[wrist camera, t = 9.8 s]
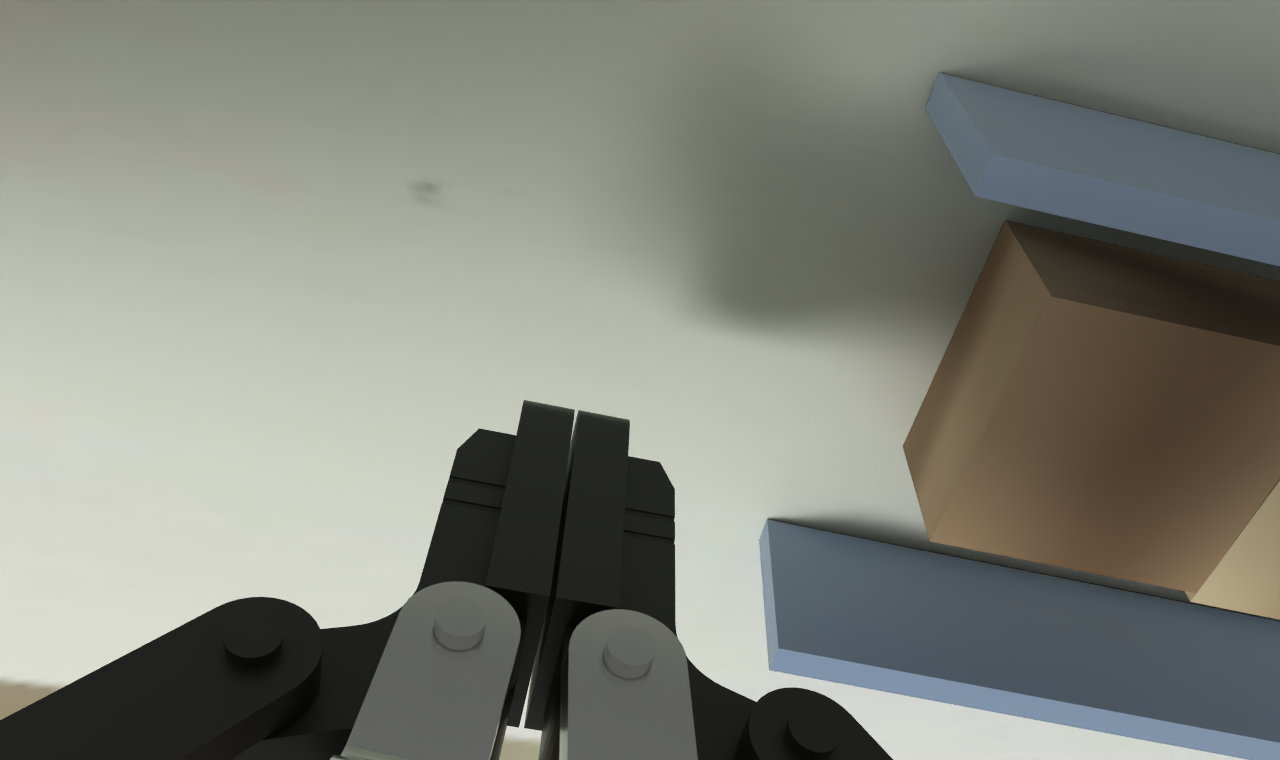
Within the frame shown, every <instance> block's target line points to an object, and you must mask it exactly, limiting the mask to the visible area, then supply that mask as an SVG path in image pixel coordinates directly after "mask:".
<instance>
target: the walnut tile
mask: <svg viewBox="0 0 1280 760" xmlns="http://www.w3.org/2000/svg"><path fill="white" fill-rule="evenodd" d="M903 449H904V452H905V456H906V459H907V463H908V466H909V470H910V473H911V477H912V480H913V484H914V487H915V491H916V494H917V498H918V501H919V505H920V508H921V512H922V515H923V519H924V522H925V526H926V529H927V533H928V536H929V540H930V542H935V543H940V544H945V545H951V546H956V547H961V548H966V549H971V550H976V551H981V552H986V553H991V554H997V555H1002V556H1007V557H1012V558H1017V559H1022V560H1027V561H1032V562H1037V563H1043V564H1048V565H1053V566H1058V567H1063V568H1068V569H1073V570H1078V571H1083V572H1089V573H1094V574H1099V575H1104V576H1109V577H1114V578H1119V579H1124V580H1129V581H1135V582H1140V583H1145V584H1150V585H1155V586H1160V587H1165V588H1170V589H1175V590H1180V591H1186V592H1191V593H1196V594H1197V592H1198V591H1199V589H1200V588H1201V587H1202V585H1203V584H1204V582H1205V581H1206V580H1207V578H1208V577H1209V575H1210V574H1211V573H1212V571H1213V570H1214V569H1215V567H1216V566H1217V564H1218V563H1219V562H1220V560H1221V559H1222V557H1223V556H1224V555H1225V553H1226V552H1227V551H1228V549H1229V548H1230V546H1231V545H1232V544H1233V542H1234V541H1235V539H1236V538H1237V537H1238V535H1239V534H1240V533H1241V531H1242V530H1243V528H1244V527H1245V526H1246V524H1247V523H1248V521H1249V520H1250V519H1251V517H1252V516H1253V515H1254V513H1255V512H1256V510H1257V509H1258V508H1259V506H1260V505H1261V503H1262V502H1263V501H1264V499H1265V498H1266V496H1267V495H1268V494H1269V492H1270V491H1271V490H1272V488H1273V487H1274V485H1275V484H1276V483H1277V481H1278V480H1279V478H1280V284H1279V283H1278V282H1277V281H1276V280H1272V279H1267V278H1263V277H1258V276H1254V275H1249V274H1245V273H1240V272H1236V271H1231V270H1227V269H1222V268H1218V267H1213V266H1209V265H1204V264H1200V263H1195V262H1191V261H1186V260H1182V259H1177V258H1173V257H1168V256H1164V255H1159V254H1155V253H1150V252H1146V251H1141V250H1137V249H1132V248H1128V247H1123V246H1119V245H1114V244H1110V243H1105V242H1101V241H1096V240H1092V239H1087V238H1083V237H1078V236H1074V235H1069V234H1065V233H1060V232H1056V231H1051V230H1047V229H1042V228H1038V227H1033V226H1029V225H1024V224H1020V223H1015V222H1011V221H1006V220H1005V221H1004V224H1003V226H1002V228H1001V230H1000V232H999V235H998V237H997V239H996V241H995V243H994V246H993V248H992V250H991V252H990V255H989V257H988V259H987V261H986V263H985V266H984V268H983V270H982V272H981V274H980V277H979V279H978V281H977V283H976V285H975V288H974V290H973V292H972V294H971V297H970V299H969V301H968V303H967V305H966V308H965V310H964V312H963V314H962V316H961V319H960V321H959V323H958V325H957V328H956V330H955V332H954V334H953V336H952V339H951V341H950V343H949V345H948V347H947V350H946V352H945V354H944V356H943V359H942V361H941V363H940V365H939V367H938V370H937V372H936V374H935V376H934V378H933V381H932V383H931V385H930V387H929V389H928V392H927V394H926V396H925V398H924V401H923V403H922V405H921V407H920V409H919V412H918V414H917V416H916V418H915V420H914V423H913V425H912V427H911V429H910V432H909V434H908V436H907V438H906V440H905V443H904V445H903Z"/></svg>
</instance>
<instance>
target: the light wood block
mask: <svg viewBox="0 0 1280 760" xmlns="http://www.w3.org/2000/svg"><path fill="white" fill-rule="evenodd" d="M1185 593H1186V595H1187V596H1188V598H1189V600H1190V602H1194V603H1199V604H1204V605H1209V606H1214V607H1219V608H1224V609H1229V610H1234V611H1239V612H1244V613H1249V614H1254V615H1259V616H1264V617H1269V618H1274V619H1279V620H1280V478H1279V480H1278V481H1277V483H1276V484H1275V485H1274V487H1273V488H1272V490H1271V491H1270V492H1269V494H1268V495H1267V496H1266V498H1265V499H1264V501H1263V502H1262V503H1261V505H1260V506H1259V508H1258V509H1257V510H1256V512H1255V513H1254V515H1253V516H1252V517H1251V519H1250V520H1249V521H1248V523H1247V524H1246V526H1245V527H1244V528H1243V530H1242V531H1241V533H1240V534H1239V535H1238V537H1237V538H1236V539H1235V541H1234V542H1233V544H1232V545H1231V546H1230V548H1229V549H1228V551H1227V552H1226V553H1225V555H1224V556H1223V557H1222V559H1221V560H1220V562H1219V563H1218V564H1217V566H1216V567H1215V569H1214V570H1213V571H1212V573H1211V574H1210V575H1209V577H1208V578H1207V580H1206V581H1205V582H1204V584H1203V585H1202V587H1201V588H1200V589H1199V591H1198V592H1197V594H1196V593H1191V592H1186V591H1185Z"/></svg>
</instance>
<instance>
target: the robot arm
mask: <svg viewBox="0 0 1280 760" xmlns="http://www.w3.org/2000/svg"><path fill="white" fill-rule="evenodd" d="M574 412H575V410H573V409H568V408H563V407H558V406H552V405H547V404H542V403H537V402H531V401H526V400H524V402H523V407H522V412H521V417H520V421H519V426H518V431H517V436H516V435H511V434H505V433H500V432H495V431H489V430H484V429H478V430H477V431H476V432H475V433H474V434H473V435H472V436H471V437H470V438H469V439H468V440H467V441H466V442H465V443H463V444H462V445H461V446H460V447H459V448H458V449H457V452H456V456H455V459H454V463H453V466H452V470H451V473H450V478H449V481H448V484H447V488H446V491H445V495H444V499H443V503H442V505H441V509H440V512H439V516H438V519H437V523H436V526H435V530H434V533H433V537H432V540H431V544H430V547H429V551H428V555H427V558H426V562H425V565H424V569H423V572H422V576H421V579H420V582H419V585H418V587H417V590H416V591H415V593H414V594H413V596H412V597H411V598H409V599H408V601H407V602H406V603H405V604H404V605H403V606H402V607H401V608H400V609H399V610H397V611H396V612H394V613H392V614H391V615H389V616H387V617H385V618H382V619H380V620H378V621H374V622H371V623H367V624H363V625H356V626H348V627H338V628H328V629H320V628H319V626H318V624H317V622H316V621H315V620H314V619H313V617H312V616H311V615H310V614H309V613H307V612H306V611H305V610H304V609H302V608H301V607H299V606H297V605H295V604H293V603H290V602H288V601H285V600H281V599H276V598H268V597H250V598H244V599H238V600H235V601H231V602H228V603H225V604H223V605H221V606H219V607H216V608H214V609H212V610H210V611H209V612H207V613H205V614H203V615H201V616H199V617H197V618H195V619H193V620H191V621H189V622H188V623H186V624H184V625H182V626H180V627H178V628H176V629H174V630H172V631H170V632H168V633H166V634H165V635H163V636H161V637H159V638H157V639H155V640H153V641H151V642H149V643H147V644H145V645H144V646H142V647H140V648H138V649H136V650H134V651H132V652H130V653H128V654H126V655H124V656H122V657H121V658H119V659H117V660H115V661H113V662H111V663H109V664H107V665H105V666H103V667H101V668H100V669H98V670H96V671H94V672H92V673H90V674H88V675H86V676H84V677H82V678H80V679H78V680H77V681H75V682H73V683H71V684H69V685H67V686H65V687H63V688H61V689H59V690H57V691H56V692H54V693H52V694H50V695H48V696H46V697H44V698H42V699H41V700H38V701H36V702H35V703H33V704H31V705H29V706H27V707H25V708H23V709H21V710H20V711H17V712H15V713H14V714H12V715H10V716H8V717H6V718H4V719H2V720H0V760H499V757H500V753H501V748H502V744H503V740H504V735H505V731H506V726H513V727H519V724H520V720H521V716H522V712H523V707H524V703H525V699H526V695H527V691H528V686H529V682H530V678H531V683H530V690H529V697H528V705H527V712H526V719H525V726H524V728H528V729H534V730H541V731H542V737H541V745H540V754H539V760H893V759H892V758H891V757H890V756H889V755H888V754H887V753H886V752H885V751H884V749H883V748H882V747H881V746H880V745H879V744H878V743H877V742H876V741H875V740H874V739H873V738H872V737H871V736H870V735H869V734H868V732H867V731H866V730H865V729H864V728H863V727H862V726H861V725H860V724H859V723H858V722H857V721H856V720H855V719H854V718H853V717H852V715H851V714H849V713H848V712H847V711H846V710H845V709H844V708H843V707H842V706H840V705H839V704H838V703H836V702H835V701H833V700H832V699H830V698H828V697H826V696H824V695H822V694H819V693H817V692H815V691H811V690H807V689H802V688H782V689H777V690H774V691H772V692H769V693H767V694H766V695H764V696H763V697H761V698H760V699H759V700H758V702H755V701H753V700H751V699H749V698H746V697H744V696H742V695H740V694H738V693H736V692H733V691H731V690H729V689H727V688H725V687H723V686H721V685H719V684H717V683H715V682H714V681H712V680H711V679H709V678H708V677H706V676H705V675H704V674H703V673H701V672H700V671H699V670H698V669H697V668H696V667H695V666H694V665H693V664H692V663H691V662H690V660H689V659H688V658H687V656H686V654H685V651H684V649H683V646H682V644H681V643H680V641H679V640H678V638H677V634H676V627H675V545H674V540H675V522H674V517H675V489H674V487H673V485H672V484H671V482H670V480H669V478H668V476H667V474H666V473H665V471H664V469H663V467H662V465H661V463H660V462H656V461H651V460H645V459H640V458H635V457H629V456H628V447H629V429H630V421H629V420H627V419H622V418H616V417H611V416H606V415H601V414H595V413H590V412H585V411H580V410H579V411H578V414H577V418H576V422H575V427H574V431H573V435H572V428H573V420H574ZM571 435H572V440H571ZM570 442H571V444H570ZM531 674H532V676H531Z"/></svg>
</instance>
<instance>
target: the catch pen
mask: <svg viewBox="0 0 1280 760" xmlns="http://www.w3.org/2000/svg"><path fill="white" fill-rule="evenodd" d="M925 110H926V111H927V113H928V115H929V117H930V119H931V120H932V122H933V124H934V126H935V127H936V129H937V131H938V133H939V134H940V136H941V138H942V140H943V141H944V143H945V145H946V147H947V148H948V150H949V152H950V154H951V155H952V157H953V159H954V161H955V162H956V164H957V166H958V168H959V170H960V171H961V173H962V175H963V177H964V178H965V180H966V182H967V184H968V185H969V187H970V189H971V191H972V192H973V194H974V196H975V197H980V198H984V199H988V200H993V201H997V202H1001V203H1006V204H1010V205H1015V206H1019V207H1023V208H1028V209H1032V210H1036V211H1041V212H1045V213H1049V214H1054V215H1058V216H1062V217H1067V218H1071V219H1075V220H1080V221H1084V222H1089V223H1093V224H1097V225H1102V226H1106V227H1110V228H1115V229H1119V230H1123V231H1128V232H1132V233H1136V234H1141V235H1145V236H1149V237H1154V238H1158V239H1163V240H1167V241H1171V242H1176V243H1180V244H1184V245H1189V246H1193V247H1197V248H1202V249H1206V250H1210V251H1215V252H1219V253H1223V254H1228V255H1232V256H1237V257H1241V258H1245V259H1250V260H1254V261H1258V262H1263V263H1267V264H1271V265H1276V266H1280V154H1276V153H1272V152H1268V151H1263V150H1259V149H1255V148H1251V147H1247V146H1243V145H1238V144H1234V143H1230V142H1226V141H1222V140H1218V139H1213V138H1209V137H1205V136H1201V135H1197V134H1192V133H1188V132H1184V131H1180V130H1176V129H1172V128H1167V127H1163V126H1159V125H1155V124H1151V123H1147V122H1142V121H1138V120H1134V119H1130V118H1126V117H1121V116H1117V115H1113V114H1109V113H1105V112H1101V111H1096V110H1092V109H1088V108H1084V107H1080V106H1076V105H1071V104H1067V103H1063V102H1059V101H1055V100H1050V99H1046V98H1042V97H1038V96H1034V95H1030V94H1025V93H1021V92H1017V91H1013V90H1009V89H1005V88H1000V87H996V86H992V85H988V84H984V83H979V82H975V81H971V80H967V79H963V78H959V77H954V76H950V75H946V74H942V73H939V75H938V77H937V80H936V82H935V85H934V87H933V90H932V93H931V95H930V98H929V100H928V103H927V106H926V108H925ZM759 544H760V557H761V570H762V583H763V596H764V609H765V622H766V636H767V649H768V662H769V670H772V671H777V672H783V673H788V674H793V675H799V676H804V677H810V678H815V679H820V680H826V681H831V682H836V683H842V684H847V685H852V686H858V687H863V688H868V689H874V690H879V691H885V692H890V693H895V694H901V695H906V696H911V697H917V698H922V699H927V700H933V701H938V702H943V703H949V704H954V705H959V706H965V707H970V708H976V709H981V710H986V711H992V712H997V713H1002V714H1008V715H1013V716H1018V717H1024V718H1029V719H1034V720H1040V721H1045V722H1051V723H1056V724H1061V725H1067V726H1072V727H1077V728H1083V729H1088V730H1093V731H1099V732H1104V733H1109V734H1115V735H1120V736H1125V737H1131V738H1136V739H1142V740H1147V741H1152V742H1158V743H1163V744H1168V745H1174V746H1179V747H1184V748H1190V749H1195V750H1200V751H1206V752H1211V753H1217V754H1222V755H1227V756H1233V757H1238V758H1243V759H1249V760H1280V621H1275V620H1270V619H1265V618H1260V617H1255V616H1250V615H1245V614H1240V613H1235V612H1230V611H1225V610H1220V609H1215V608H1210V607H1205V606H1199V605H1194V604H1189V603H1184V602H1179V601H1174V600H1169V599H1164V598H1159V597H1154V596H1149V595H1144V594H1139V593H1134V592H1129V591H1124V590H1119V589H1114V588H1109V587H1104V586H1099V585H1094V584H1089V583H1084V582H1079V581H1074V580H1069V579H1064V578H1059V577H1054V576H1049V575H1044V574H1039V573H1034V572H1029V571H1024V570H1019V569H1014V568H1009V567H1004V566H999V565H994V564H989V563H984V562H979V561H974V560H968V559H963V558H958V557H953V556H948V555H943V554H938V553H933V552H928V551H923V550H918V549H913V548H908V547H903V546H898V545H893V544H888V543H883V542H878V541H873V540H868V539H863V538H858V537H853V536H848V535H843V534H838V533H833V532H828V531H823V530H818V529H813V528H808V527H803V526H798V525H793V524H788V523H783V522H778V521H773V520H768V519H767V521H766V524H765V526H764V529H763V532H762V534H761V537H760V539H759Z"/></svg>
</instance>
